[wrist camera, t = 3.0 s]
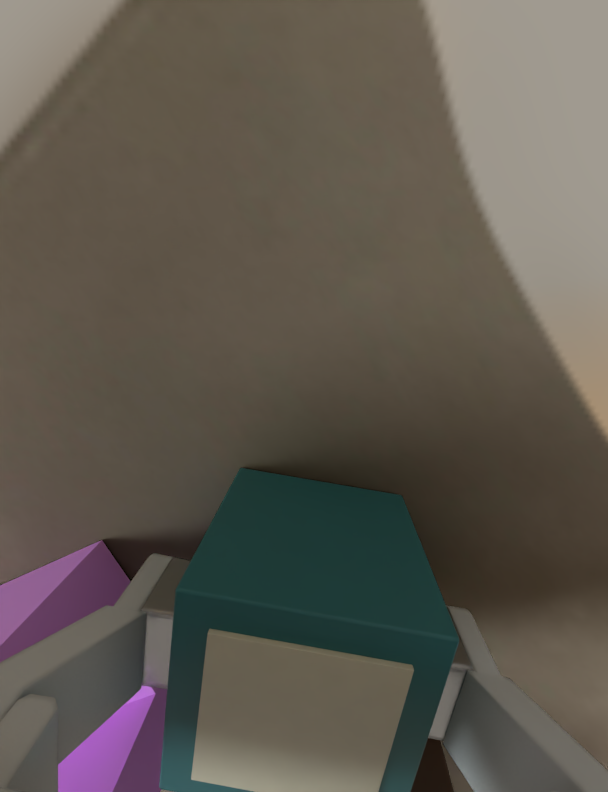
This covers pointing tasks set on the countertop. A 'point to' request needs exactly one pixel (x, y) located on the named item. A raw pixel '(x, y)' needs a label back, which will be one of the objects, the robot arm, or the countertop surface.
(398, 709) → the letter block
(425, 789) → the block
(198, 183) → the countertop surface
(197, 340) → the countertop surface
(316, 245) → the countertop surface
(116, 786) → the bracket
